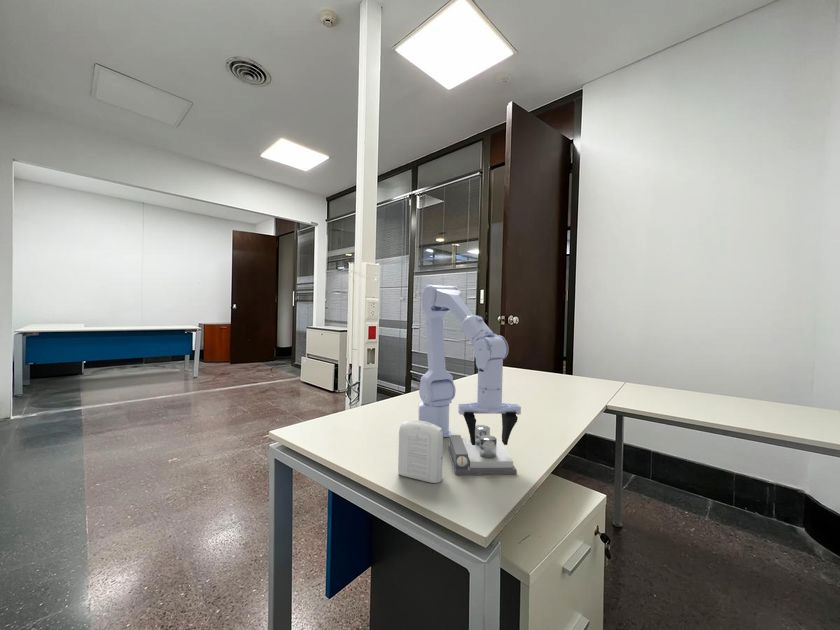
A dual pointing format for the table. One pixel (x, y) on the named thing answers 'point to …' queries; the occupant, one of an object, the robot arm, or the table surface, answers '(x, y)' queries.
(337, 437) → the table surface
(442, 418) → the robot arm
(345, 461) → the table surface
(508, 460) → the scale
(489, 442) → the spacer
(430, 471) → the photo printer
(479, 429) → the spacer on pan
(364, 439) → the table surface
